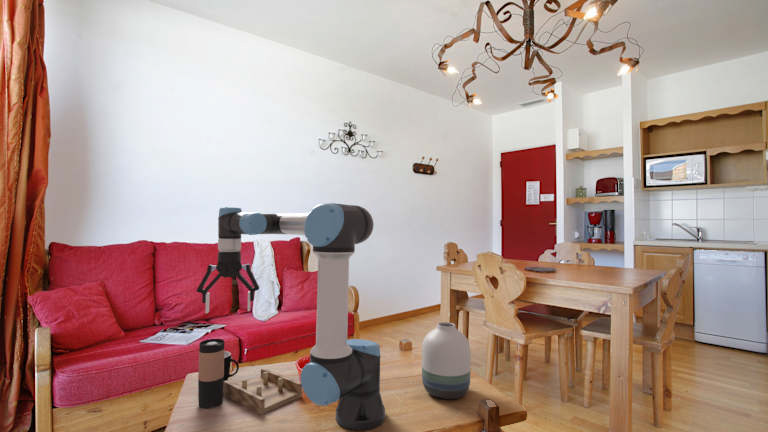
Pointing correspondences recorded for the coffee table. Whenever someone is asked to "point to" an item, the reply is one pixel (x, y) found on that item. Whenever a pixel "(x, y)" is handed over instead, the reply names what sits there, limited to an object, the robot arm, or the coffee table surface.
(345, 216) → the robot arm
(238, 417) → the coffee table surface
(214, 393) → the travel mug
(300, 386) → the peg stand
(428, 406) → the coffee table surface
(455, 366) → the vase
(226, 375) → the mug
